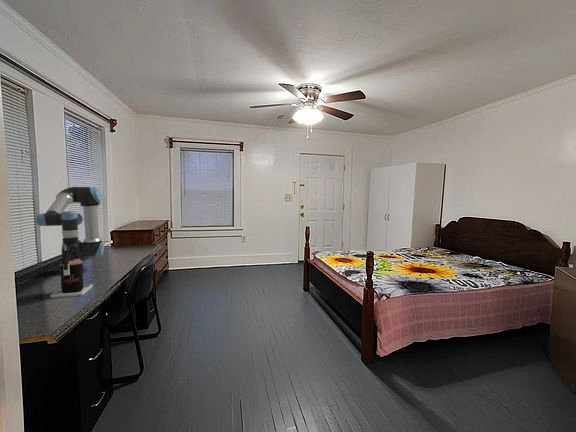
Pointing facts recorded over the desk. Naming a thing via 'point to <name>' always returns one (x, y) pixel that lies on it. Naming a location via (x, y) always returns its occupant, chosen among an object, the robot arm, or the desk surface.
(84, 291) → the sage tray
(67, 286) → the coffee jar
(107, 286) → the desk surface
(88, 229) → the robot arm
